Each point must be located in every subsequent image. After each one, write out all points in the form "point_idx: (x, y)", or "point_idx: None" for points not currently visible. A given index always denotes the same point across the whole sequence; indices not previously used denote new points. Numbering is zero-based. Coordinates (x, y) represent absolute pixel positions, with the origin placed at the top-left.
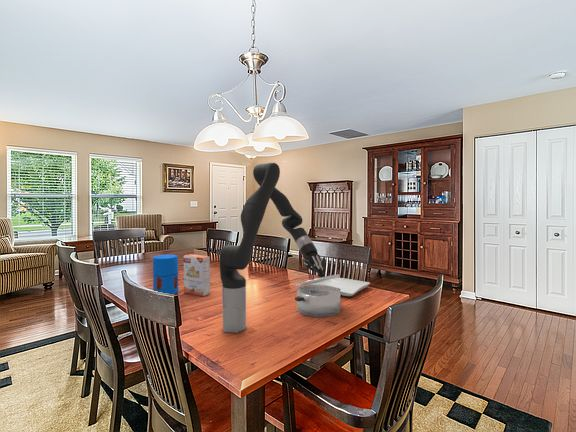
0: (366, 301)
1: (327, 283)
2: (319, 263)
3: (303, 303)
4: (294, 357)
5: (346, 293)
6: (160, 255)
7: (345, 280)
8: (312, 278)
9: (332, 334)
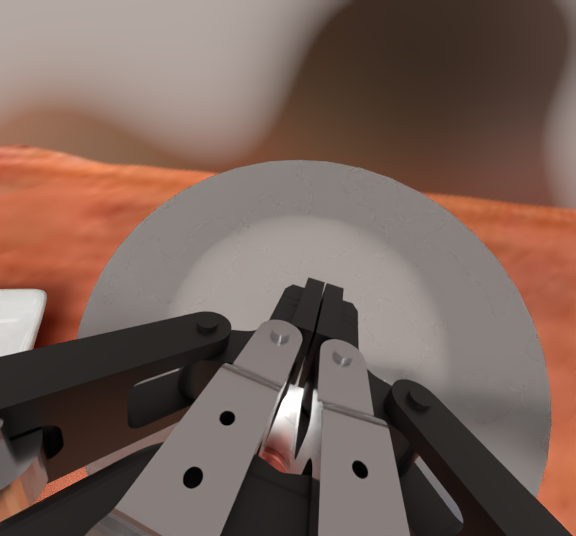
0: (73, 237)
1: None
2: (271, 381)
3: None
4: None
5: (36, 327)
6: None
7: None
8: (281, 471)
9: (468, 206)
